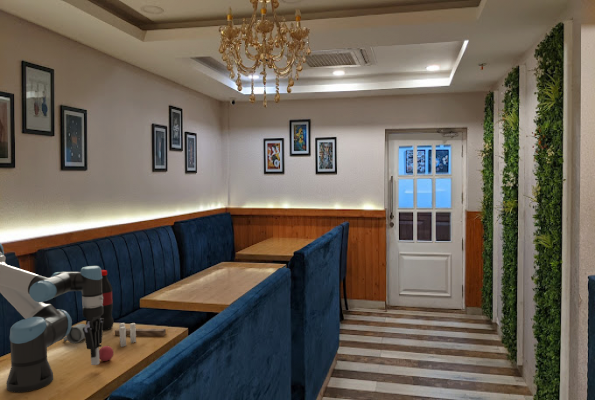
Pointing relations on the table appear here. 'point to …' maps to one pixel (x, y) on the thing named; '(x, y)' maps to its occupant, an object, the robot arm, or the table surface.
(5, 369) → the table surface
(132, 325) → the pin
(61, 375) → the table surface
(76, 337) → the ceramic mug
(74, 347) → the table surface
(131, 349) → the table surface
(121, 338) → the pin front
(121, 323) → the pin
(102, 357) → the ball
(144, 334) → the back rail
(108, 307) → the cola bottle
